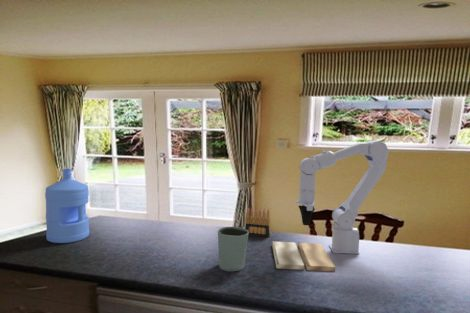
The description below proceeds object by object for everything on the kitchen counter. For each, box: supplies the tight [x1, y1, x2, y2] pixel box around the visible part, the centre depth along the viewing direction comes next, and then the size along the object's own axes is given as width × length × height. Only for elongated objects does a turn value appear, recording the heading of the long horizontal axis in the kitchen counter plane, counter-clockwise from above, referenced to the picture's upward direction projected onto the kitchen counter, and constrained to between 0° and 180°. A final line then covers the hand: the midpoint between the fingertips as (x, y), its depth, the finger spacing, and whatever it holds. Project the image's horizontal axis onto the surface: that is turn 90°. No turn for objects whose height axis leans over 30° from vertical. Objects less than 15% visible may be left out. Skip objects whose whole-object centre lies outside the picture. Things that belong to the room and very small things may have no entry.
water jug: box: [44, 168, 90, 244], centre depth 135 cm, size 16×16×28 cm
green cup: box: [217, 226, 249, 272], centre depth 111 cm, size 10×10×12 cm
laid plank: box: [297, 242, 336, 272], centre depth 120 cm, size 9×22×2 cm, turn 177°
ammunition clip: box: [244, 207, 271, 238], centre depth 143 cm, size 11×2×12 cm, turn 75°
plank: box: [271, 240, 305, 271], centre depth 120 cm, size 9×22×2 cm, turn 177°
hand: (305, 224), depth 128 cm, fingers closed
